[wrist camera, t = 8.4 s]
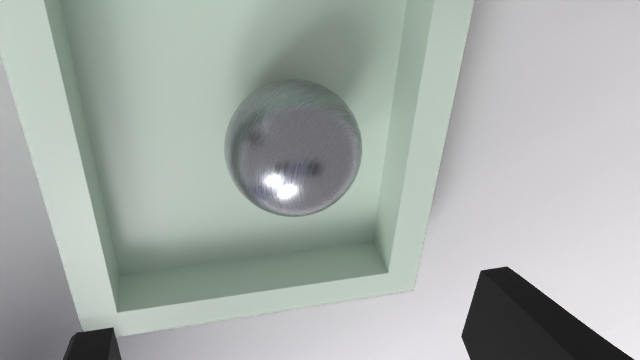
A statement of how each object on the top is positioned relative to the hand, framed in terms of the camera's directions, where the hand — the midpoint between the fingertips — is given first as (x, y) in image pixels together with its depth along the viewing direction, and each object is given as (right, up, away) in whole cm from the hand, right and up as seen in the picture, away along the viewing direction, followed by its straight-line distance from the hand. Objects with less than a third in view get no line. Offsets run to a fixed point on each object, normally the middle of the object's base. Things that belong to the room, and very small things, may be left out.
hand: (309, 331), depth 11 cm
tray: (-2, +5, +7) cm, 9 cm away
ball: (-2, +5, +6) cm, 8 cm away
